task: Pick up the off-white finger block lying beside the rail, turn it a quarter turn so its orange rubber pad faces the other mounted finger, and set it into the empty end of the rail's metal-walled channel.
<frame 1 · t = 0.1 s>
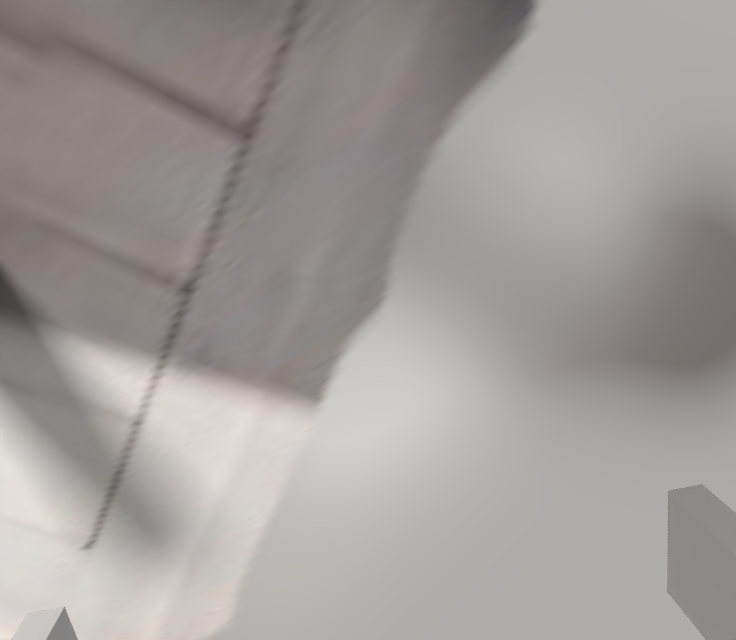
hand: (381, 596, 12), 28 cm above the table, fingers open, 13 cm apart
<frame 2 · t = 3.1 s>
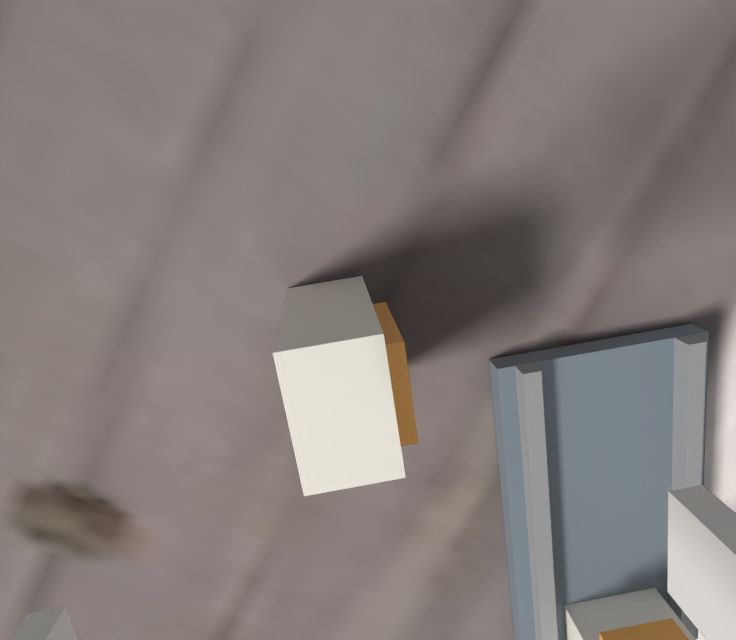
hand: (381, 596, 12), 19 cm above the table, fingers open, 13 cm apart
rail: (595, 503, 34), on the table
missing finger: (384, 326, 30), on the table
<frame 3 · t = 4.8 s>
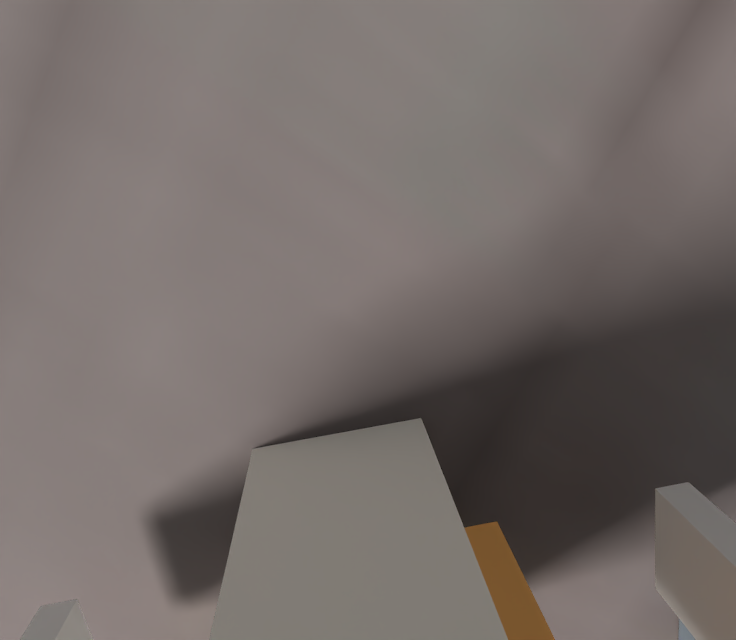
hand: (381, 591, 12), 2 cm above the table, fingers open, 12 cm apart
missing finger: (467, 517, 14), on the table
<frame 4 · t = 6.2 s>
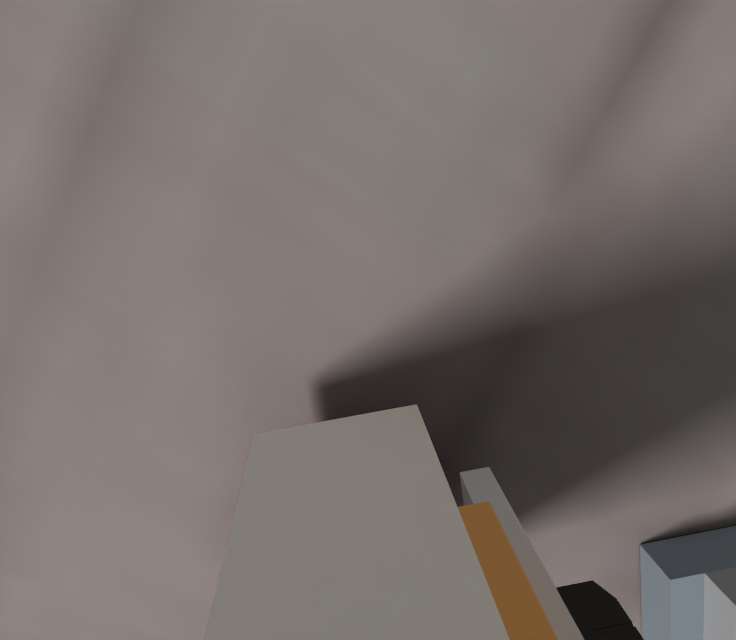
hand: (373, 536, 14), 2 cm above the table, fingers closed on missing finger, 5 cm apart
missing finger: (462, 502, 14), point 1 cm above the table, touching gripper
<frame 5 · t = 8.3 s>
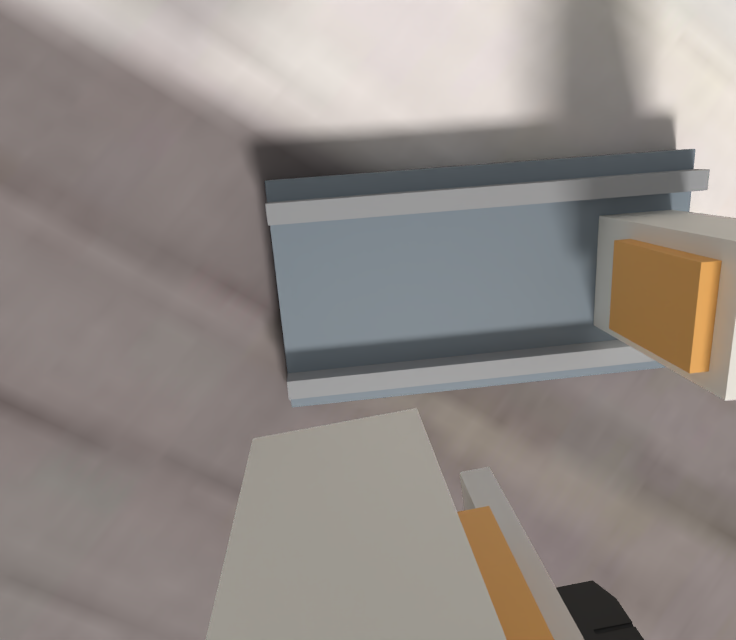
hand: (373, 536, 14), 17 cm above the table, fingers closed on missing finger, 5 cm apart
rail: (479, 276, 30), on the table
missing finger: (462, 506, 14), point 17 cm above the table, touching gripper
when the fingers open (3 cm above the table, at t = 10.7 s): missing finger stays where it is, resting on rail.
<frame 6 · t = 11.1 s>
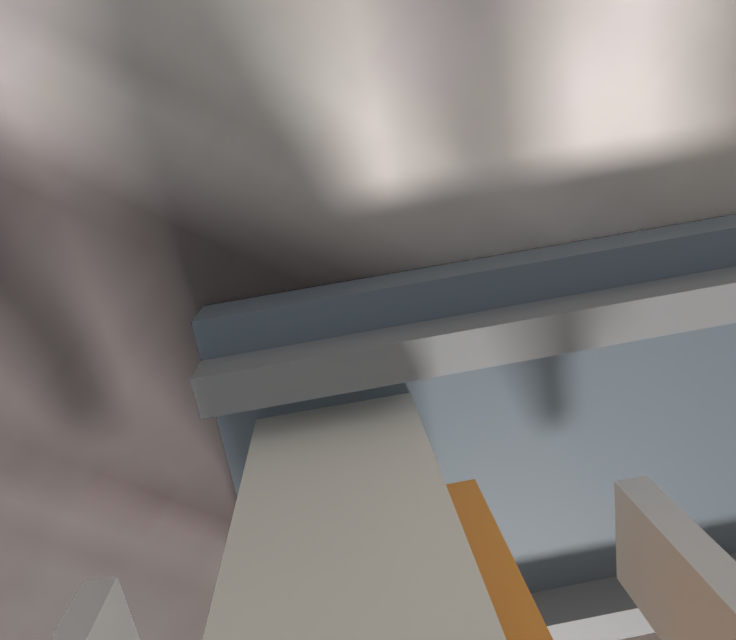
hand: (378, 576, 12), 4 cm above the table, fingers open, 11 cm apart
rail: (609, 430, 17), on the table
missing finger: (452, 486, 15), point 1 cm above the table, touching rail
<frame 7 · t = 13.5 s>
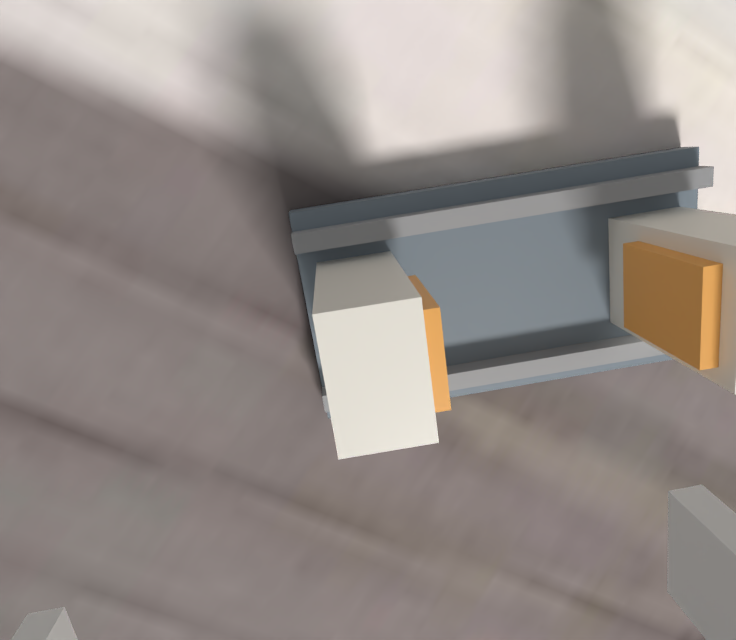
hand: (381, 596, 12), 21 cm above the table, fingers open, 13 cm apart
rail: (496, 283, 32), on the table
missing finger: (411, 302, 30), point 1 cm above the table, touching rail
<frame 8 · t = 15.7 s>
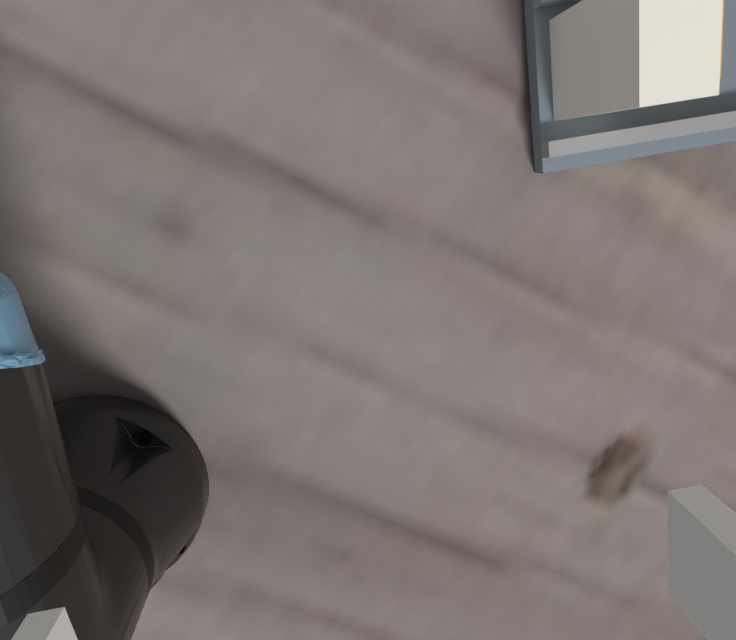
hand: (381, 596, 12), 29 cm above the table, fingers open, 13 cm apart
rail: (687, 55, 37), on the table
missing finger: (623, 61, 35), point 1 cm above the table, touching rail
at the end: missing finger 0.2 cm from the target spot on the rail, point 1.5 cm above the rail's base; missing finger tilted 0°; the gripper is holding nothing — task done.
